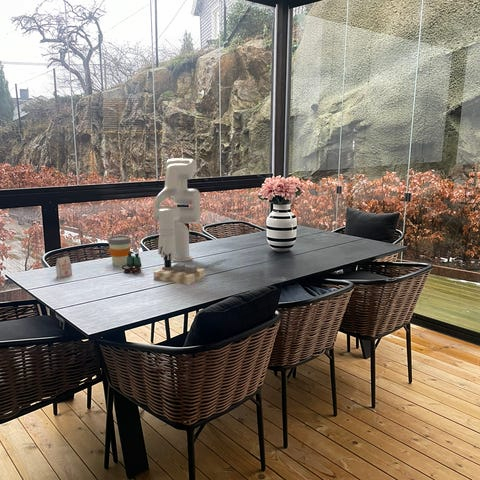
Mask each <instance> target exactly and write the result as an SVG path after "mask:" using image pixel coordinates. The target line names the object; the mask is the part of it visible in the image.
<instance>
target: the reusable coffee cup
mask: <svg viewBox="0 0 480 480" xmlns="http://www.w3.org/2000/svg"><path fill="white" fill-rule="evenodd" d="M107 244H108V245H109V247H108V250H109V254H110V256H111V261H112V265H115V266H123V265H125V264H126V263H127V257H128V252H130V253H131V237H130V236H127V235H115V236H111V237H108V243H107Z"/></svg>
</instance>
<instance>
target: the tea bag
mask: <svg viewBox="0 0 480 480" xmlns="http://www.w3.org/2000/svg"><path fill="white" fill-rule="evenodd" d="M55 270H56V273H55V274H56V277H57V278H59V279H61V278H65V277H66V278H67V277H69V276H73V270H72V262H71V259H70V256H64V257H60V258H59V257H58V258H56V263H55Z"/></svg>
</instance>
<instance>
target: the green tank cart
mask: <svg viewBox="0 0 480 480" xmlns="http://www.w3.org/2000/svg"><path fill="white" fill-rule="evenodd" d="M142 266H143V265H142V261H141V257H140V256H139V252H136V253H135V254H134V256H133V255H132V252H131V251H130V252H128V257H127V263H126V264H124V265H121V269H122V270H123V273H124V274H132V275H135V274H137V273H139V272H142V269H141V268H142Z"/></svg>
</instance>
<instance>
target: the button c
mask: <svg viewBox="0 0 480 480" xmlns="http://www.w3.org/2000/svg"><path fill="white" fill-rule="evenodd" d="M197 268H198V265H193V264H188V265H185V273H192V274H193V273H195V272H197Z"/></svg>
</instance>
